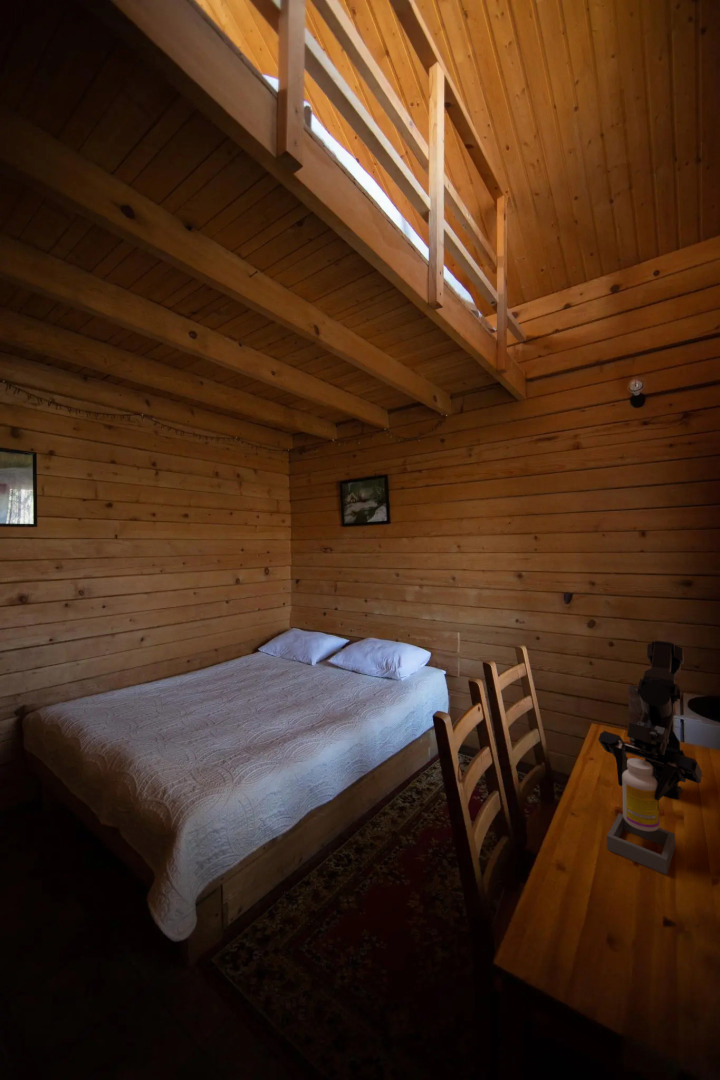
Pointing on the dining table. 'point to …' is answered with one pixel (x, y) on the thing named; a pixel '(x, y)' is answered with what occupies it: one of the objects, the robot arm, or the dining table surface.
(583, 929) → the dining table surface
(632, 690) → the candle
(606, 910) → the dining table surface
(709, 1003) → the dining table surface
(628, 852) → the holder
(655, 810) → the supplement bottle
